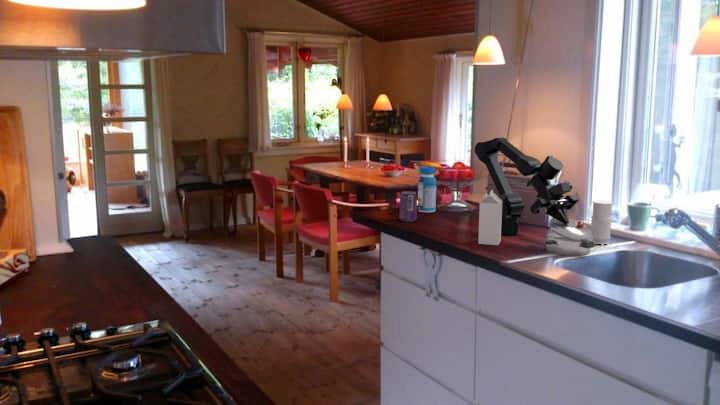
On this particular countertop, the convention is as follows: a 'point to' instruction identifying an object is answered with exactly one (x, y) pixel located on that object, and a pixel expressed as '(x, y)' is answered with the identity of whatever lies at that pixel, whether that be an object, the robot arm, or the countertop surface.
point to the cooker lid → (571, 229)
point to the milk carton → (490, 219)
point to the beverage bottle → (427, 190)
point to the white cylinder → (601, 221)
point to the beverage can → (408, 206)
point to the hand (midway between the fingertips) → (567, 223)
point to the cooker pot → (567, 245)
